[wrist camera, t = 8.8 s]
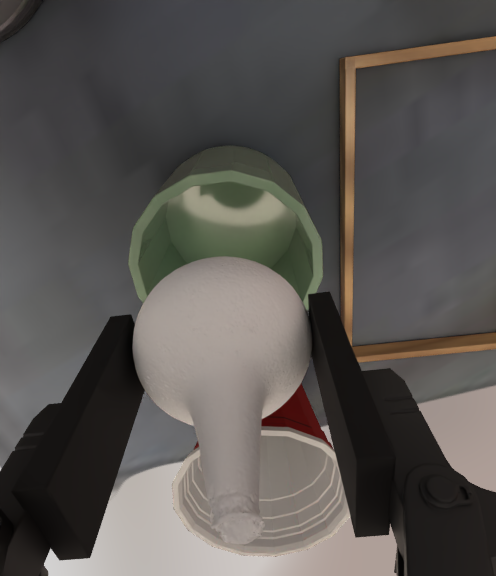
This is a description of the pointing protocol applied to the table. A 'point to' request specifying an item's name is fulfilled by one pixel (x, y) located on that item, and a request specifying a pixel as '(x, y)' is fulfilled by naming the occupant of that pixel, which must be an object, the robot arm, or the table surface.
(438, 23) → the table surface
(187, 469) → the plastic cup
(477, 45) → the frame
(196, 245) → the cup
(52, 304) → the table surface
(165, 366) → the garlic bulb
